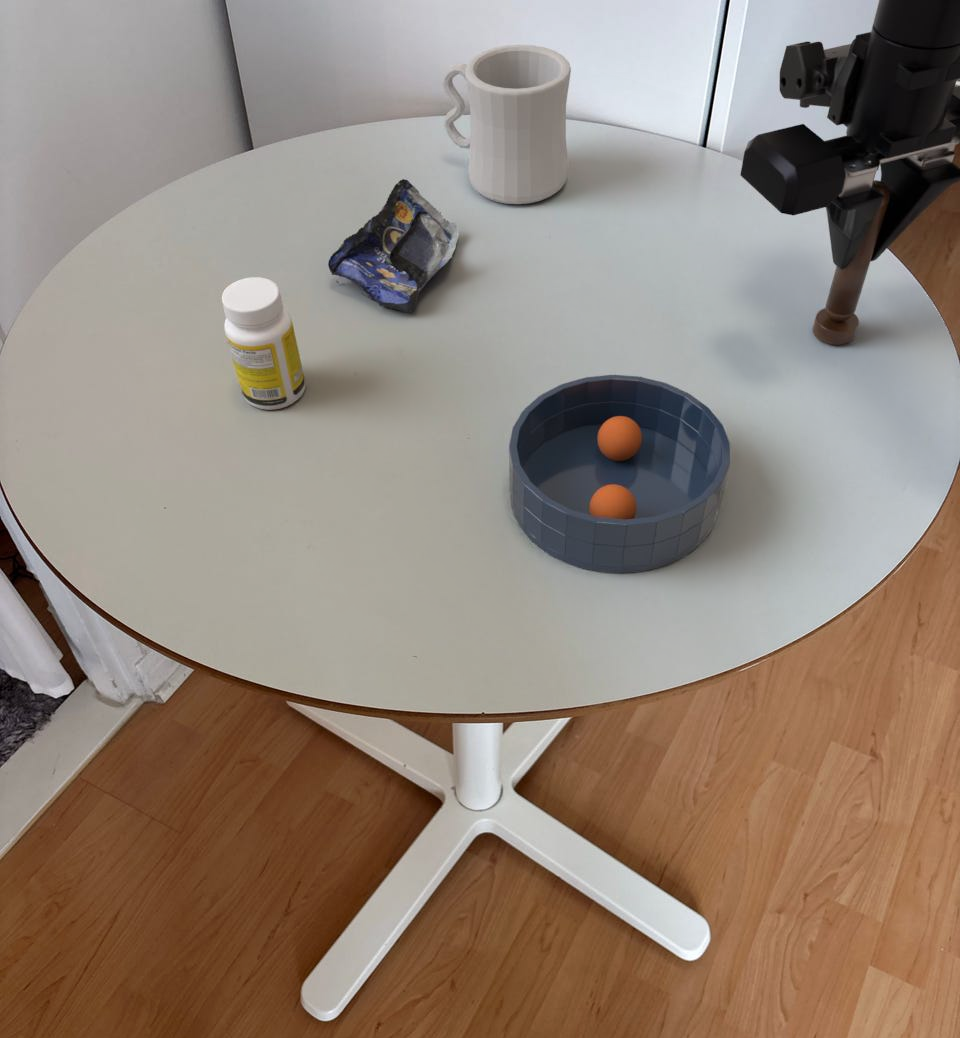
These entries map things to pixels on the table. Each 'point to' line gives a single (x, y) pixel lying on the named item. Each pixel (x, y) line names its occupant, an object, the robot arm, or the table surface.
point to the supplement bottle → (262, 343)
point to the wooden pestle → (849, 285)
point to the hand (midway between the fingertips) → (854, 261)
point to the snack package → (397, 249)
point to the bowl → (617, 473)
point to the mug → (513, 121)
